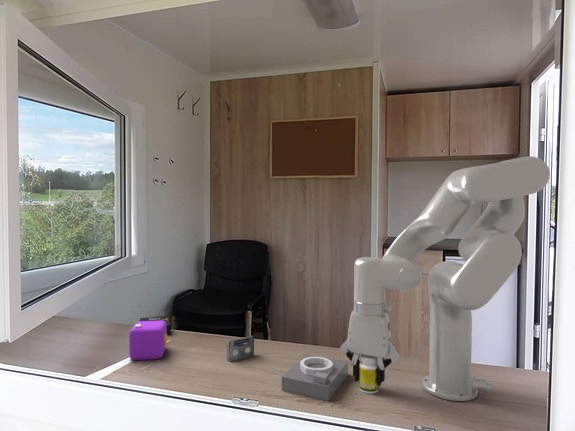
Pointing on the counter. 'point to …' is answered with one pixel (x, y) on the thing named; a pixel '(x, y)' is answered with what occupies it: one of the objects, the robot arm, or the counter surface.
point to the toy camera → (148, 340)
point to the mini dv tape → (240, 348)
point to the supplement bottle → (368, 374)
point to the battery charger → (159, 318)
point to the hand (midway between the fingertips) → (368, 380)
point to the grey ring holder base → (315, 377)
